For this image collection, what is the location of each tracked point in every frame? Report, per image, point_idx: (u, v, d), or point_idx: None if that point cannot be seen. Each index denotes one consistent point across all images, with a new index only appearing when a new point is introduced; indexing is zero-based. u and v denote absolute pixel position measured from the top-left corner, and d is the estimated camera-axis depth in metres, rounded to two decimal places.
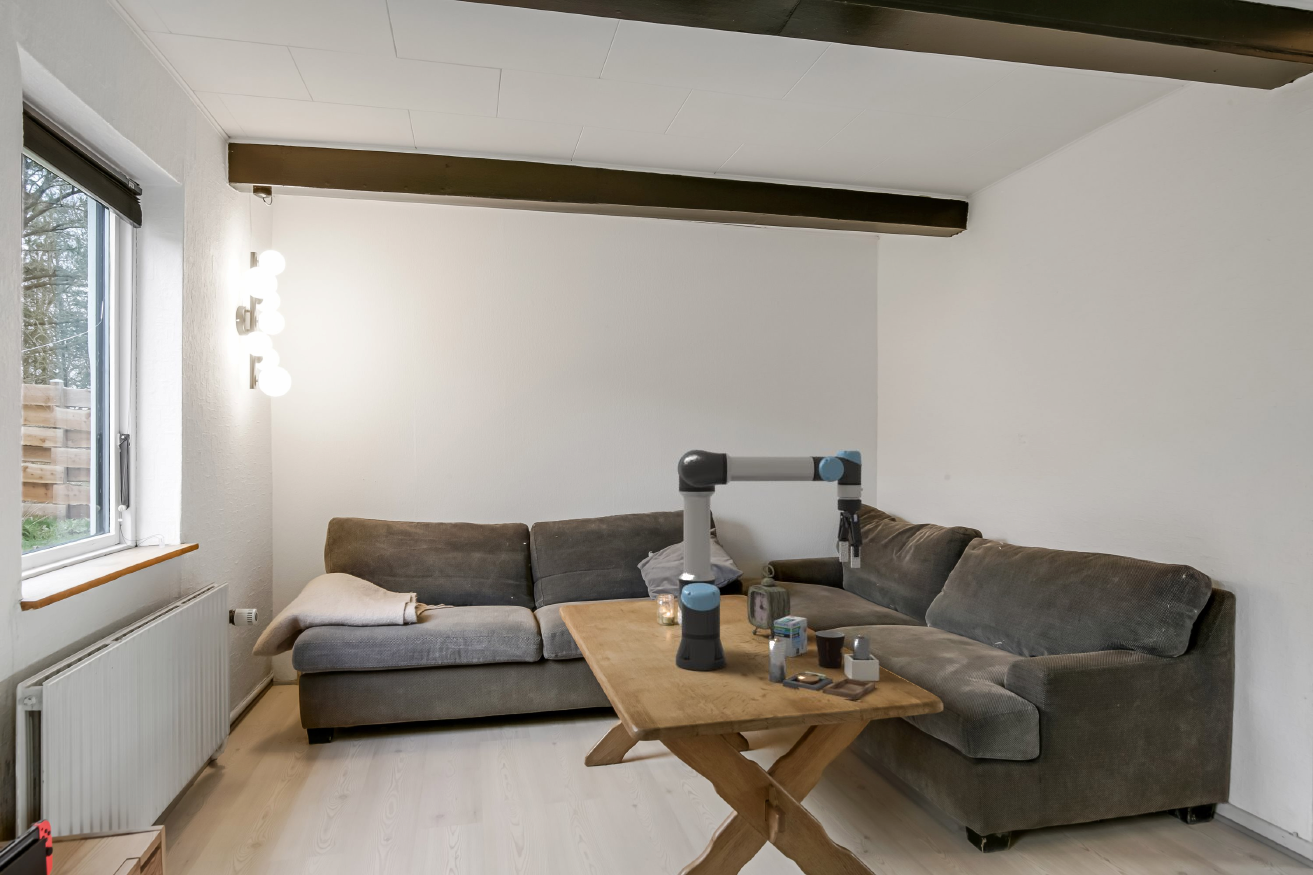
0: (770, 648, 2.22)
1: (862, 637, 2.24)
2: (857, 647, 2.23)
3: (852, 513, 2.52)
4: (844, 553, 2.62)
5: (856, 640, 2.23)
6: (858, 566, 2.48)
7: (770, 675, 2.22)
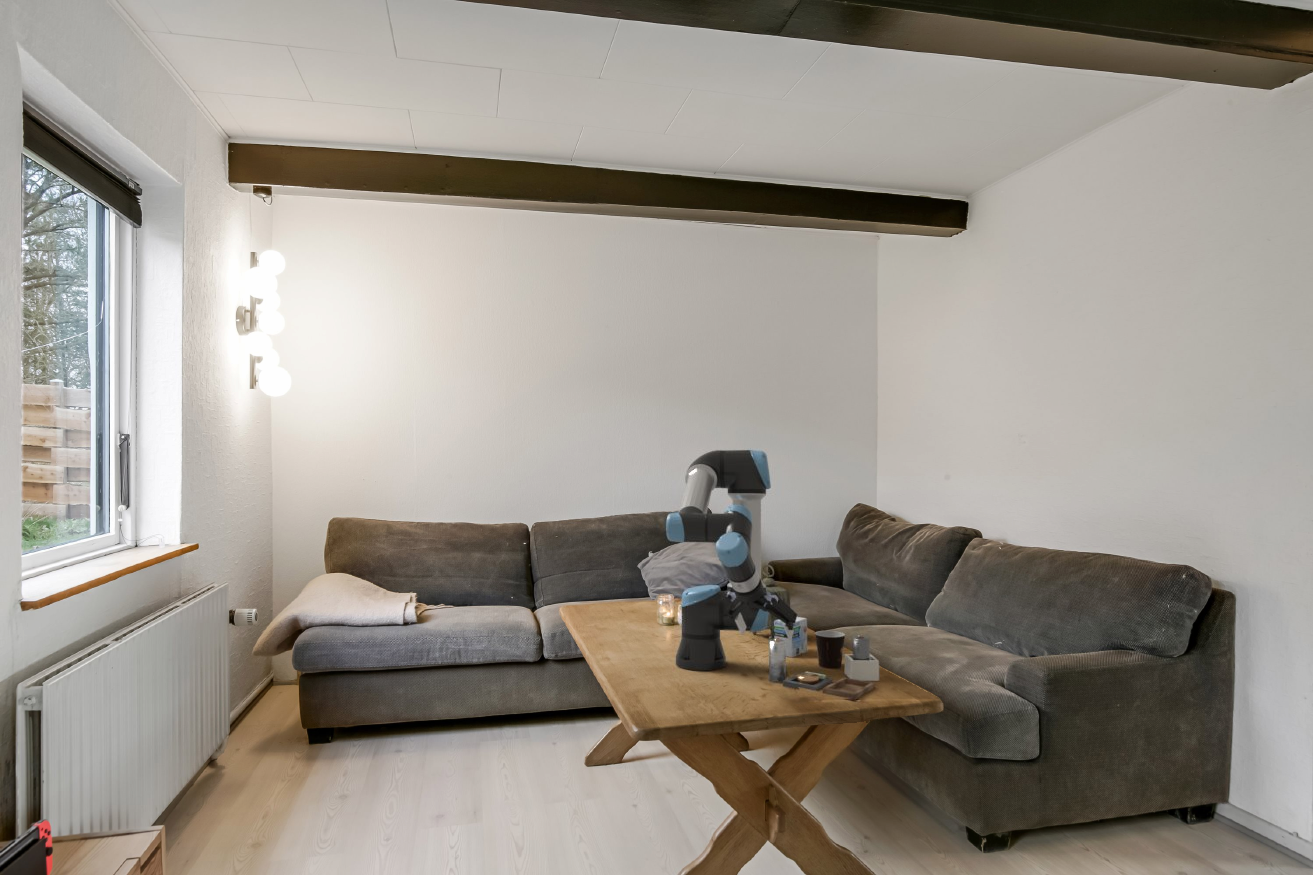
0: (770, 648, 2.22)
1: (862, 637, 2.24)
2: (857, 647, 2.23)
3: None
4: None
5: (856, 640, 2.23)
6: None
7: (770, 675, 2.22)
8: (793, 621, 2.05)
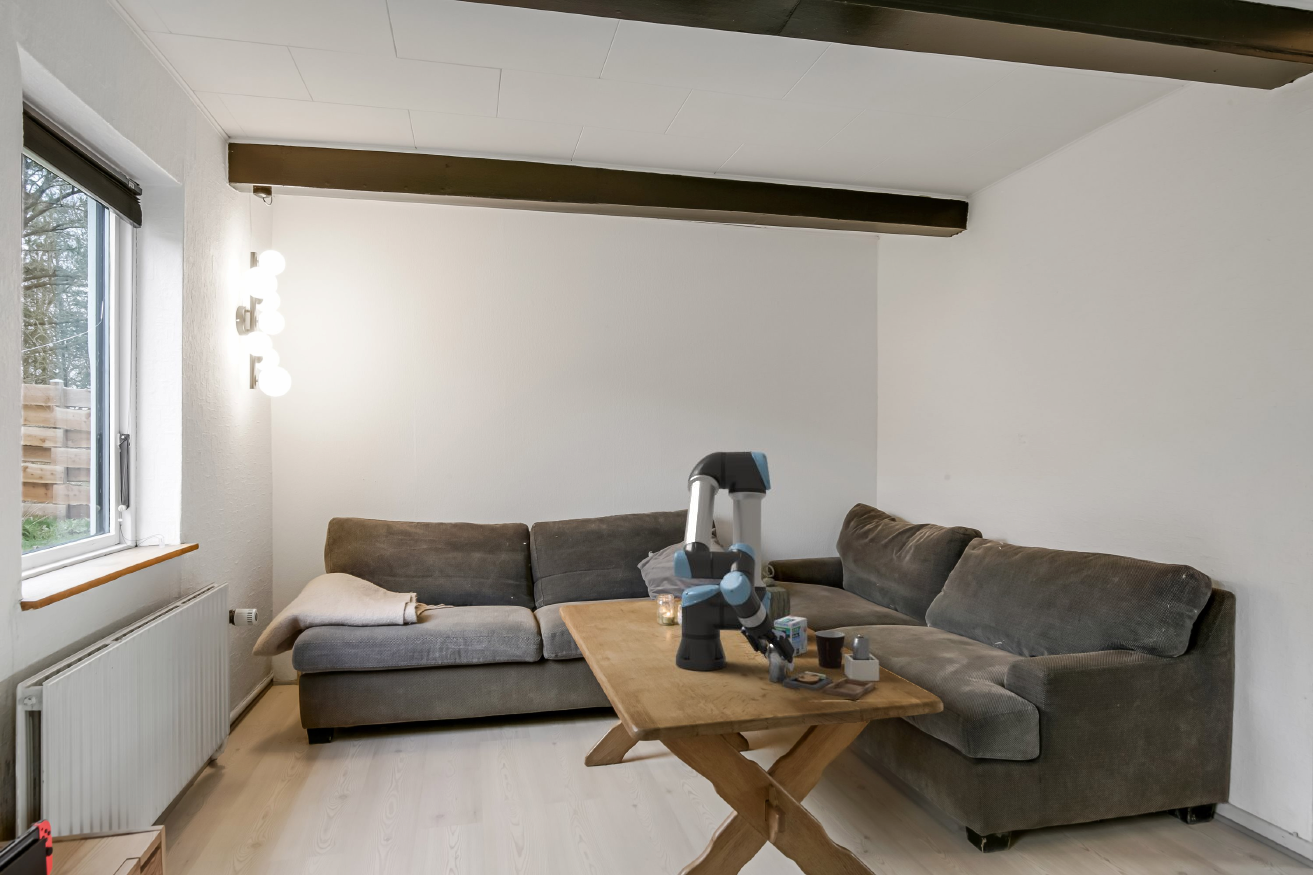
0: (770, 648, 2.22)
1: (861, 637, 2.24)
2: (856, 646, 2.23)
3: None
4: None
5: (855, 640, 2.23)
6: None
7: (770, 675, 2.22)
8: (790, 656, 2.18)
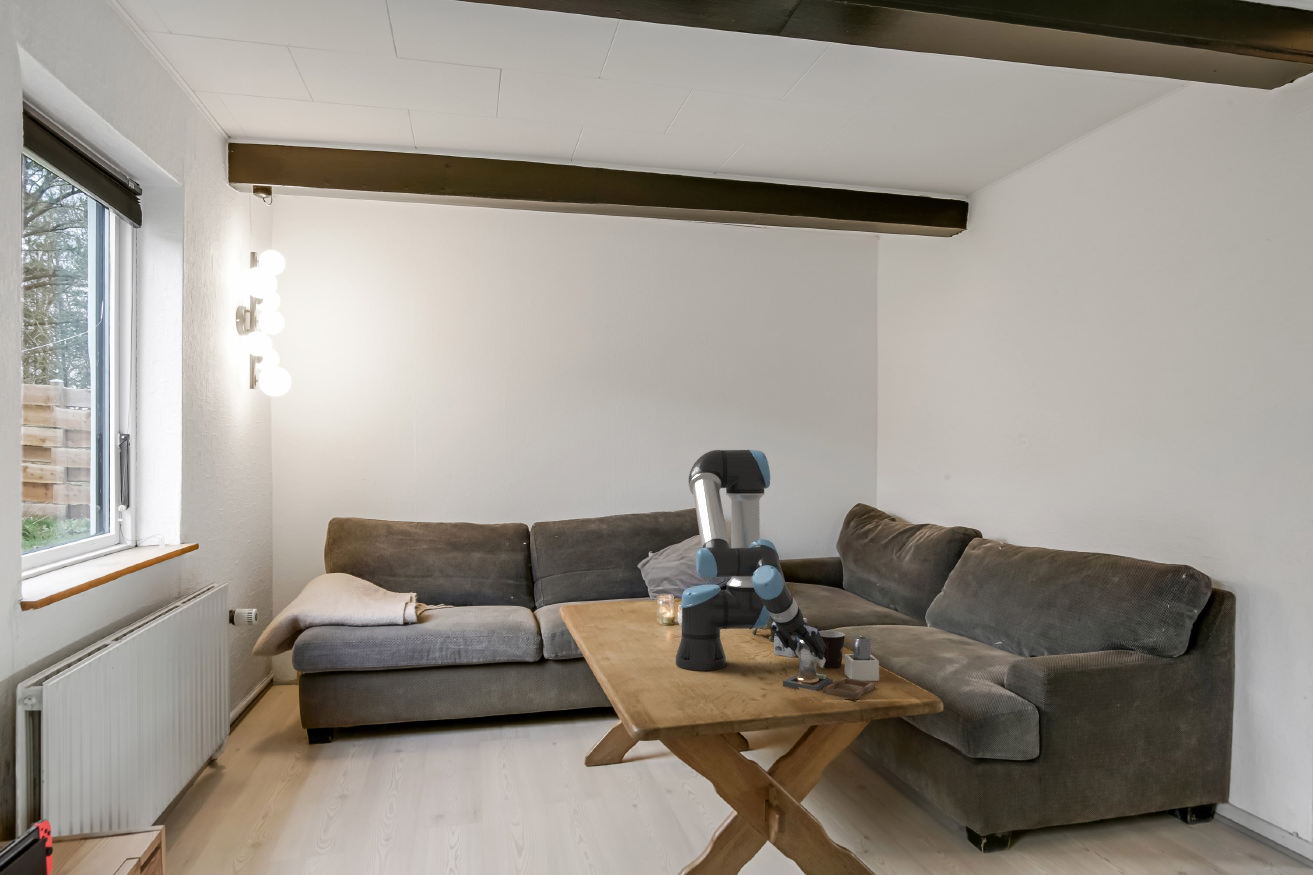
0: (800, 644, 2.18)
1: (863, 637, 2.23)
2: (857, 647, 2.23)
3: None
4: None
5: (856, 640, 2.23)
6: None
7: (800, 672, 2.17)
8: (822, 652, 2.13)
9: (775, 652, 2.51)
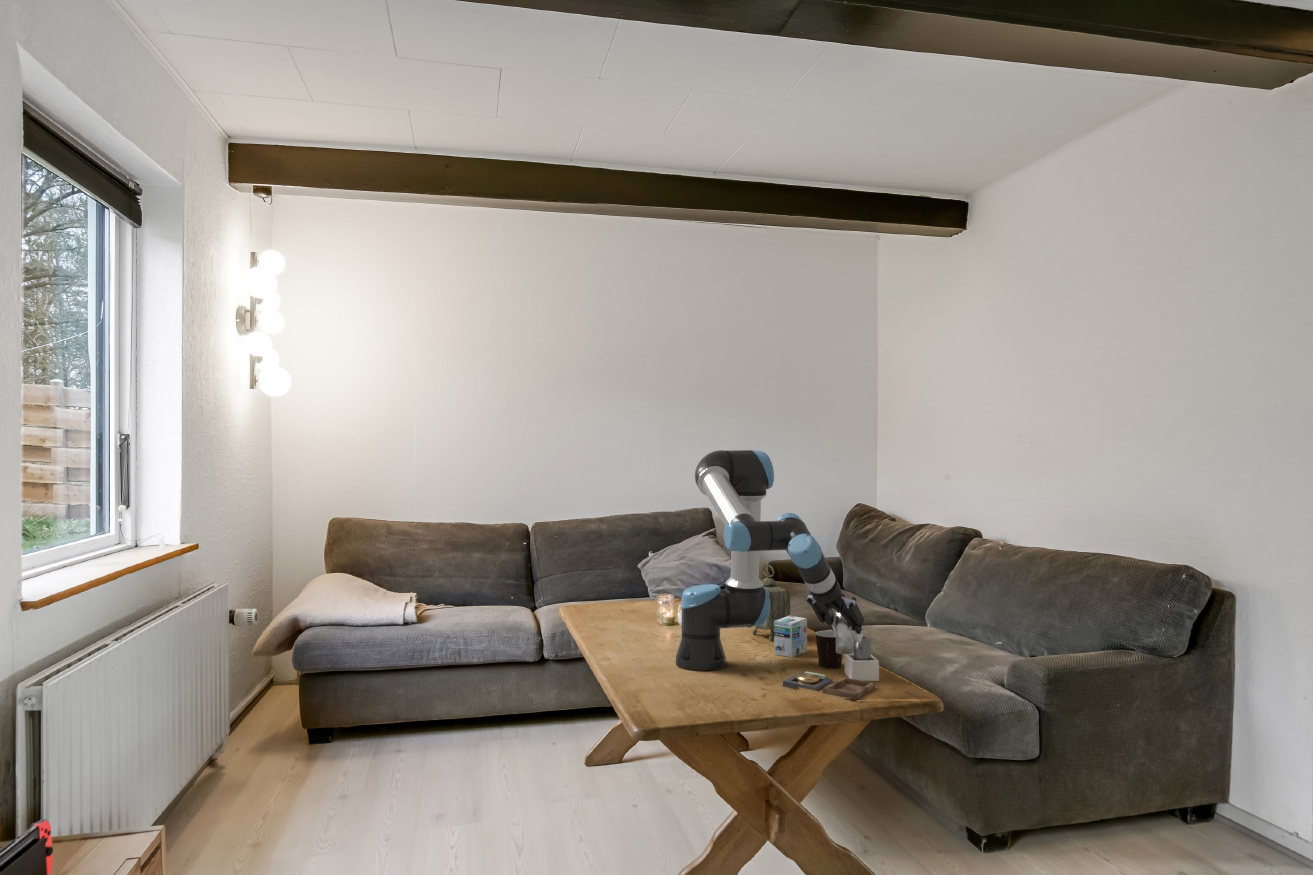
0: (837, 618, 2.11)
1: (863, 637, 2.24)
2: (857, 646, 2.23)
3: None
4: None
5: None
6: None
7: (837, 647, 2.11)
8: (860, 626, 2.06)
9: (775, 652, 2.51)
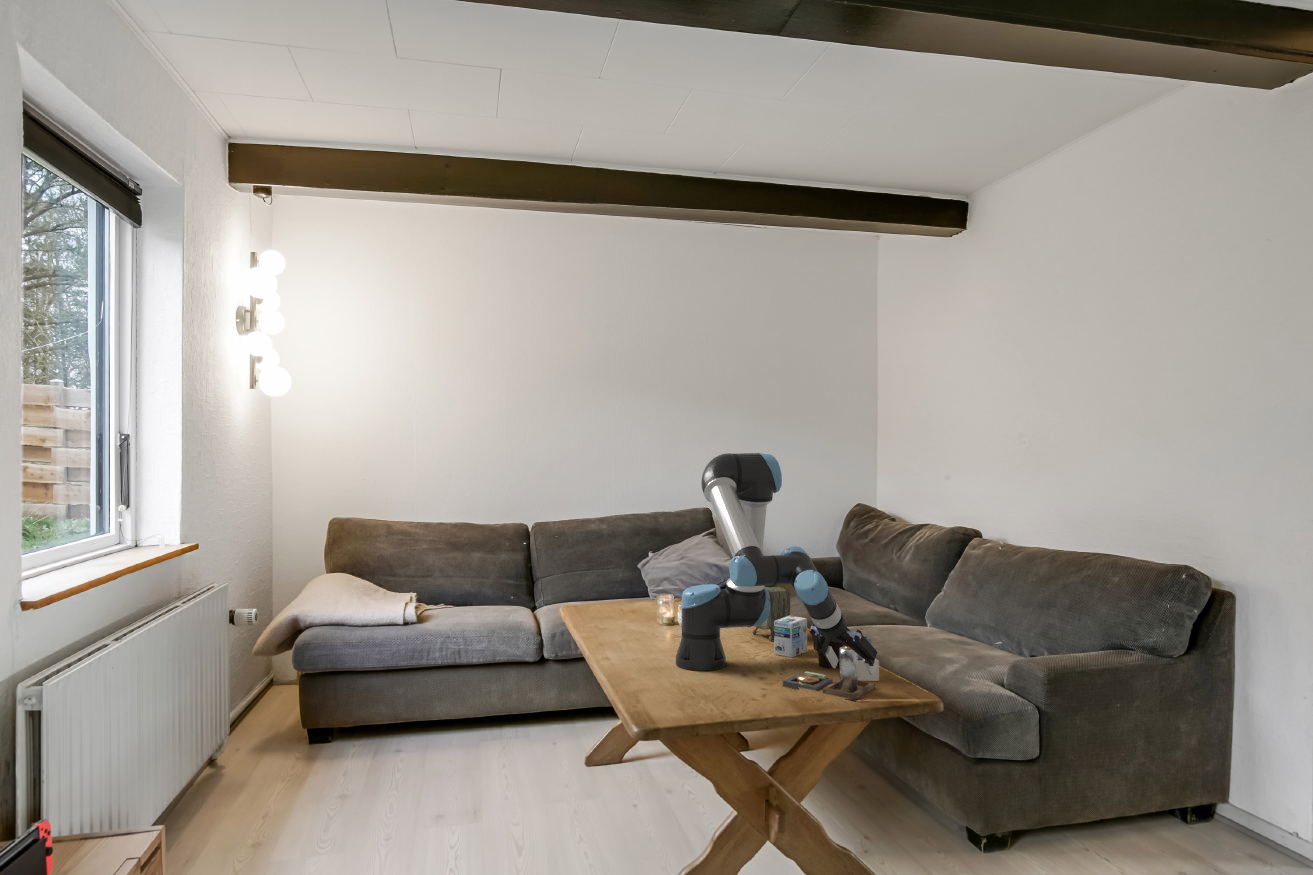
0: (841, 657, 2.11)
1: None
2: None
3: None
4: None
5: None
6: None
7: (841, 685, 2.11)
8: (873, 659, 2.04)
9: (775, 652, 2.51)
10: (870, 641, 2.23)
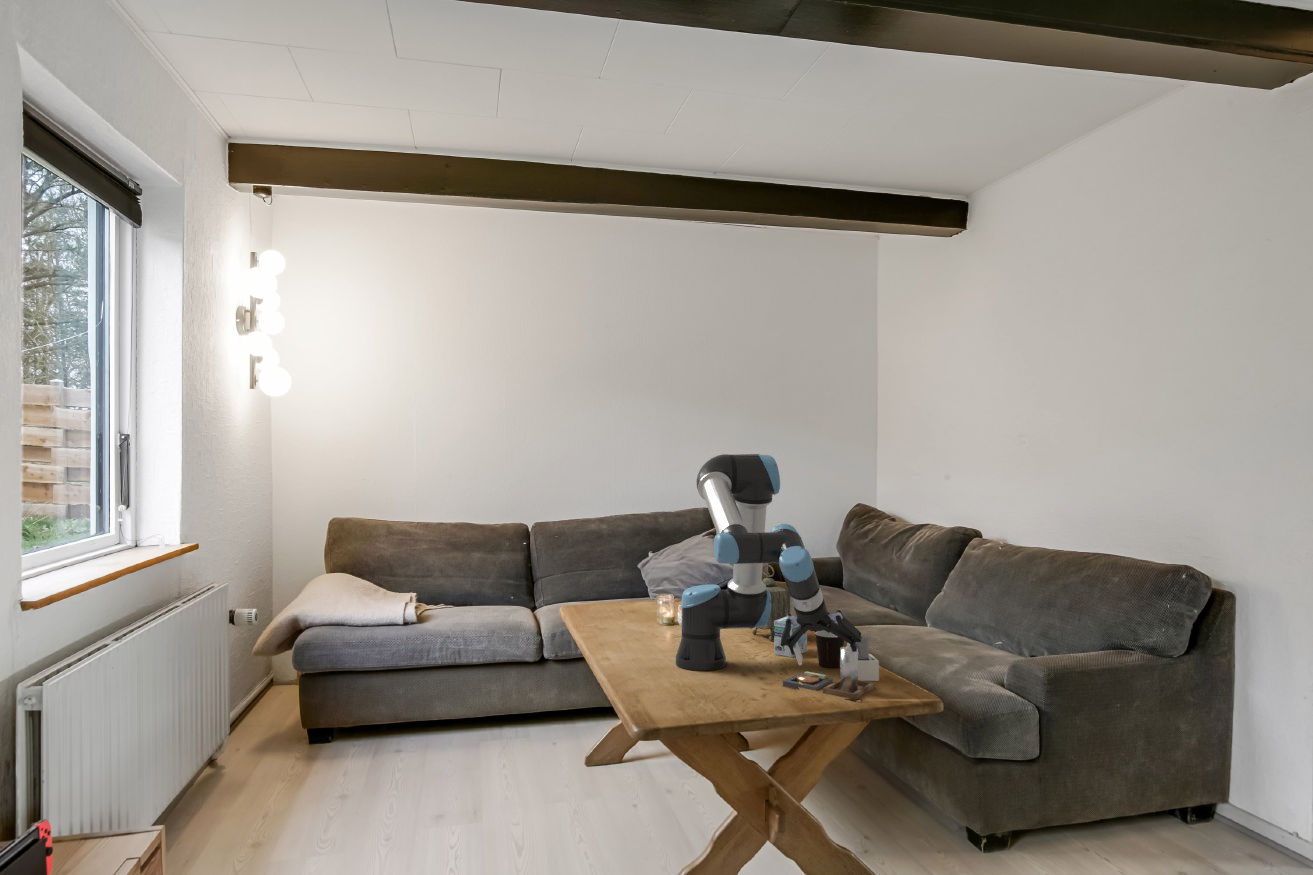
0: (842, 656, 2.11)
1: None
2: None
3: None
4: None
5: None
6: None
7: (841, 685, 2.11)
8: (859, 640, 1.95)
9: (775, 652, 2.51)
10: (865, 641, 2.22)
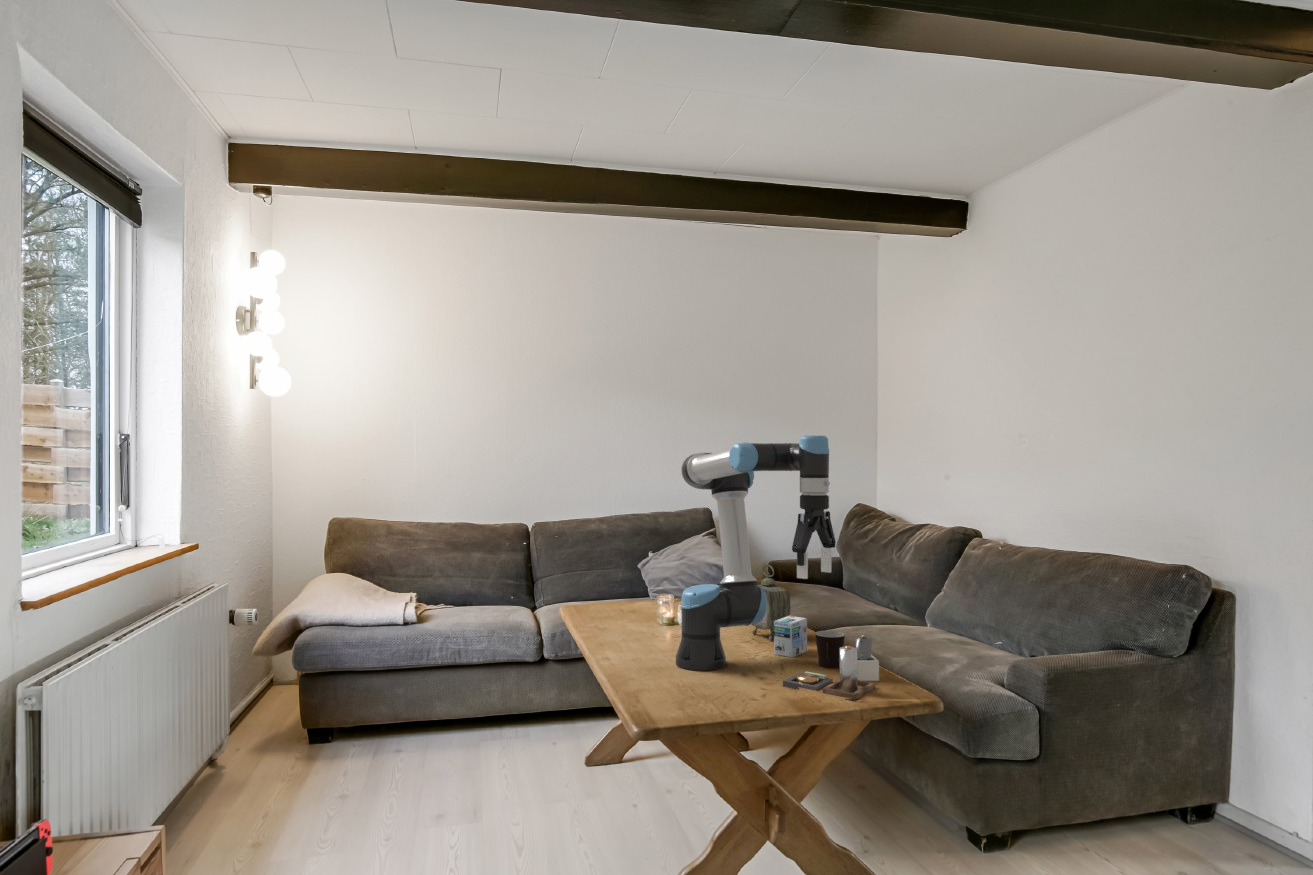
0: (841, 657, 2.11)
1: (863, 637, 2.23)
2: (856, 646, 2.23)
3: (807, 512, 2.06)
4: (825, 561, 2.14)
5: (856, 639, 2.24)
6: (804, 577, 2.02)
7: (841, 685, 2.11)
8: (835, 541, 2.16)
9: (775, 652, 2.51)
10: (869, 642, 2.22)
